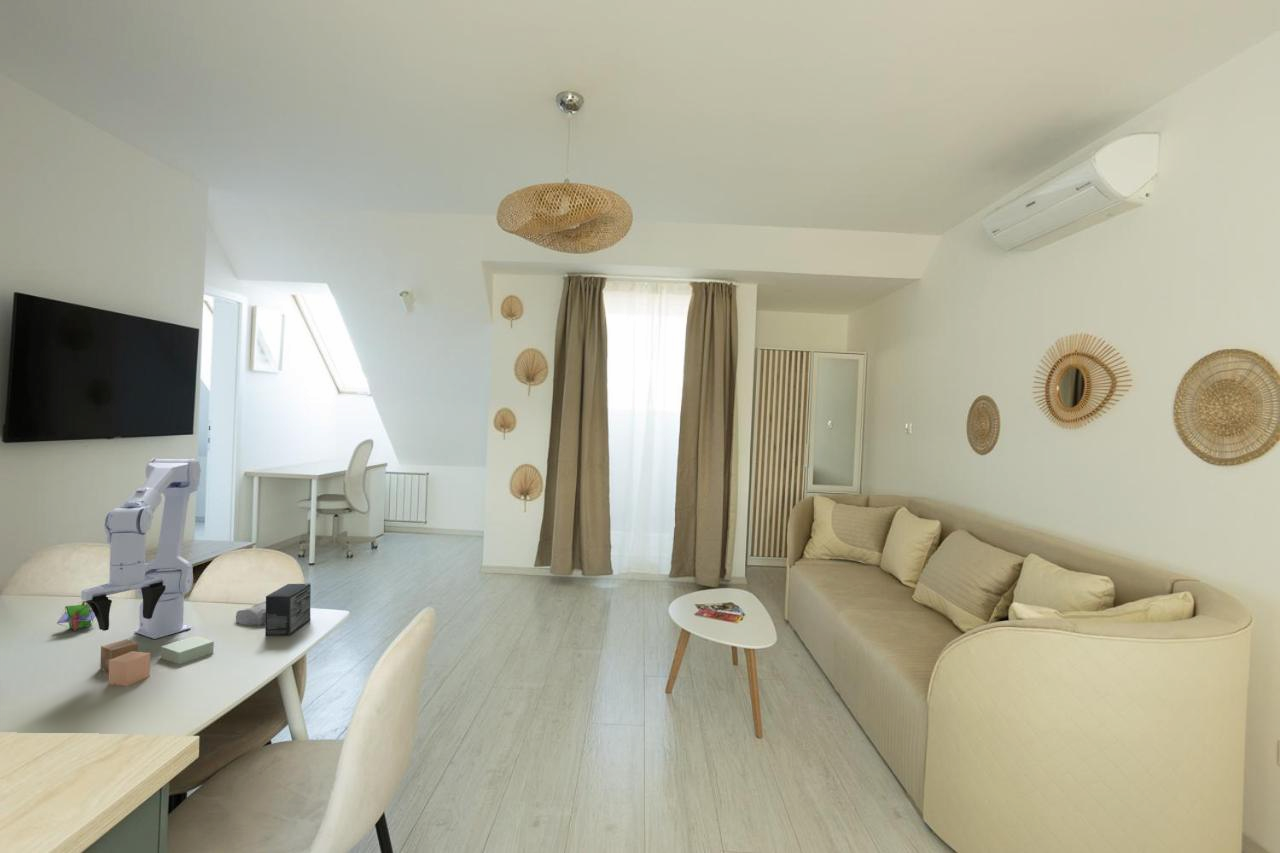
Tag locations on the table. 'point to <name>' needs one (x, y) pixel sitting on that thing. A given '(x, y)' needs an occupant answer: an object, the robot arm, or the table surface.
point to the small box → (287, 609)
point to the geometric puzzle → (77, 616)
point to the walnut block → (116, 651)
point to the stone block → (252, 615)
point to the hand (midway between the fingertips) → (126, 623)
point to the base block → (187, 649)
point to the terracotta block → (129, 668)
